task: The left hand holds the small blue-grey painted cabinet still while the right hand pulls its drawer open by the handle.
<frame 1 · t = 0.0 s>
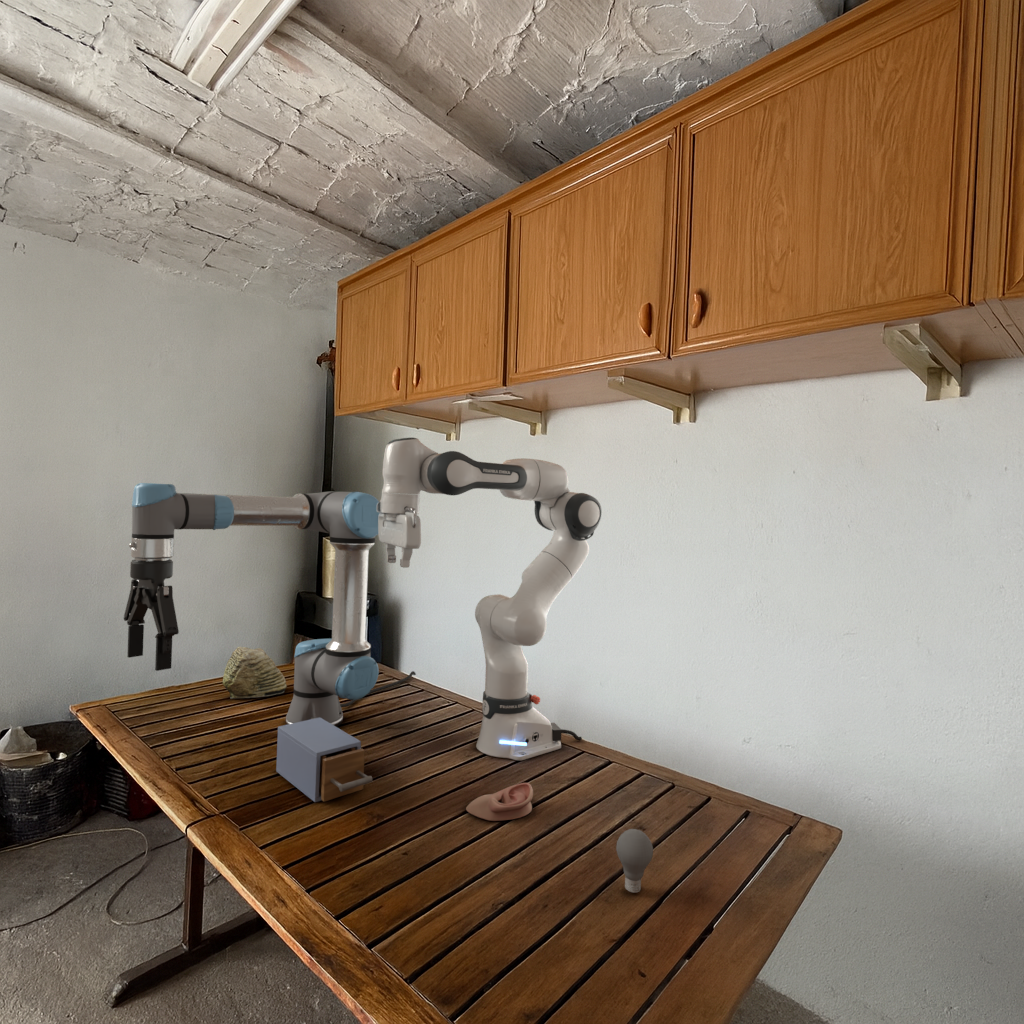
left hand: (148, 662, 129), 28 cm above the table, tool pointing down, fingers open, 13 cm apart
right hand: (397, 565, 149), 48 cm above the table, tool pointing down, fingers open, 8 cm apart
fossil: (254, 694, 198), on the table
anatomical model: (499, 809, 132), on the table
drawer: (330, 765, 137), point 5 cm above the table, slide at 1.4 cm
cabinet: (316, 779, 142), on the table
light bulb: (632, 891, 106), on the table
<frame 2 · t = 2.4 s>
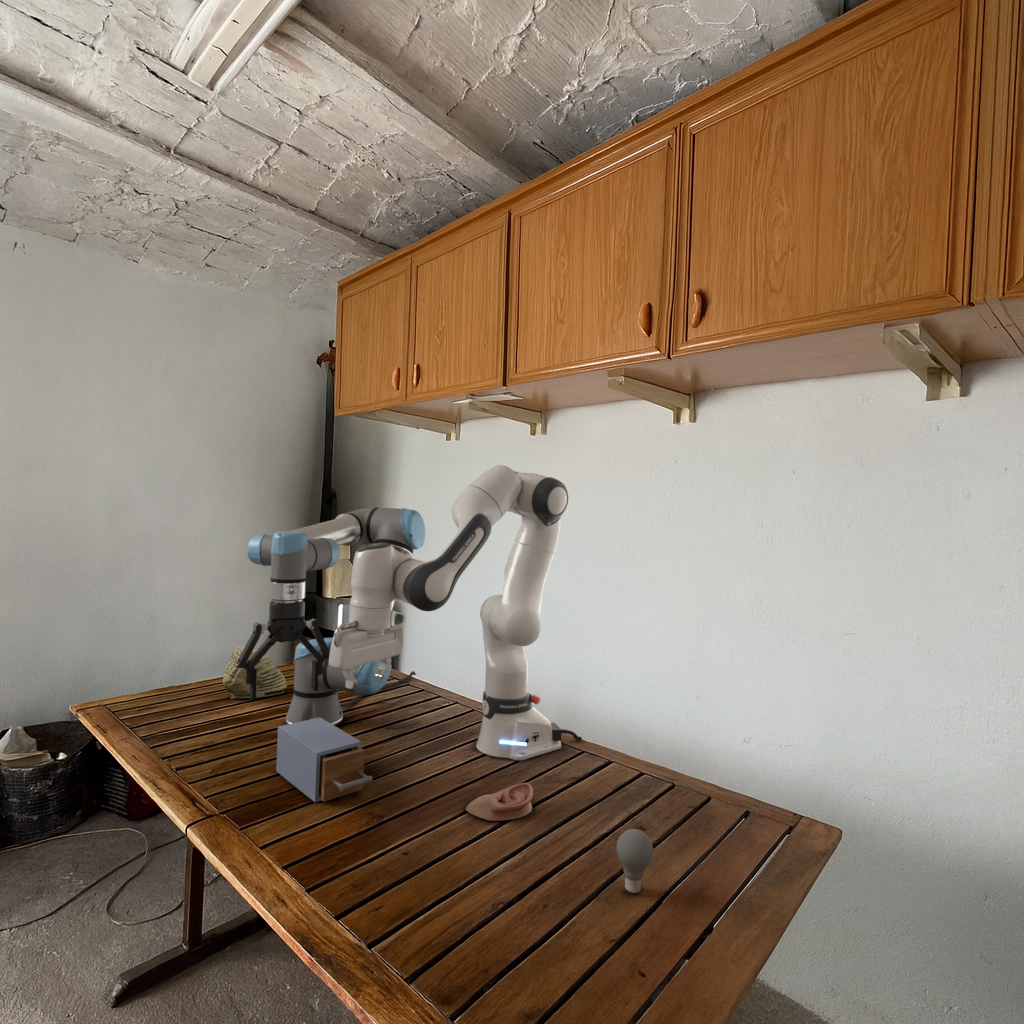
left hand: (284, 693, 143), 18 cm above the table, tool pointing down, fingers open, 13 cm apart
right hand: (366, 682, 136), 24 cm above the table, tool pointing down, fingers open, 8 cm apart
nothing on the table moved.
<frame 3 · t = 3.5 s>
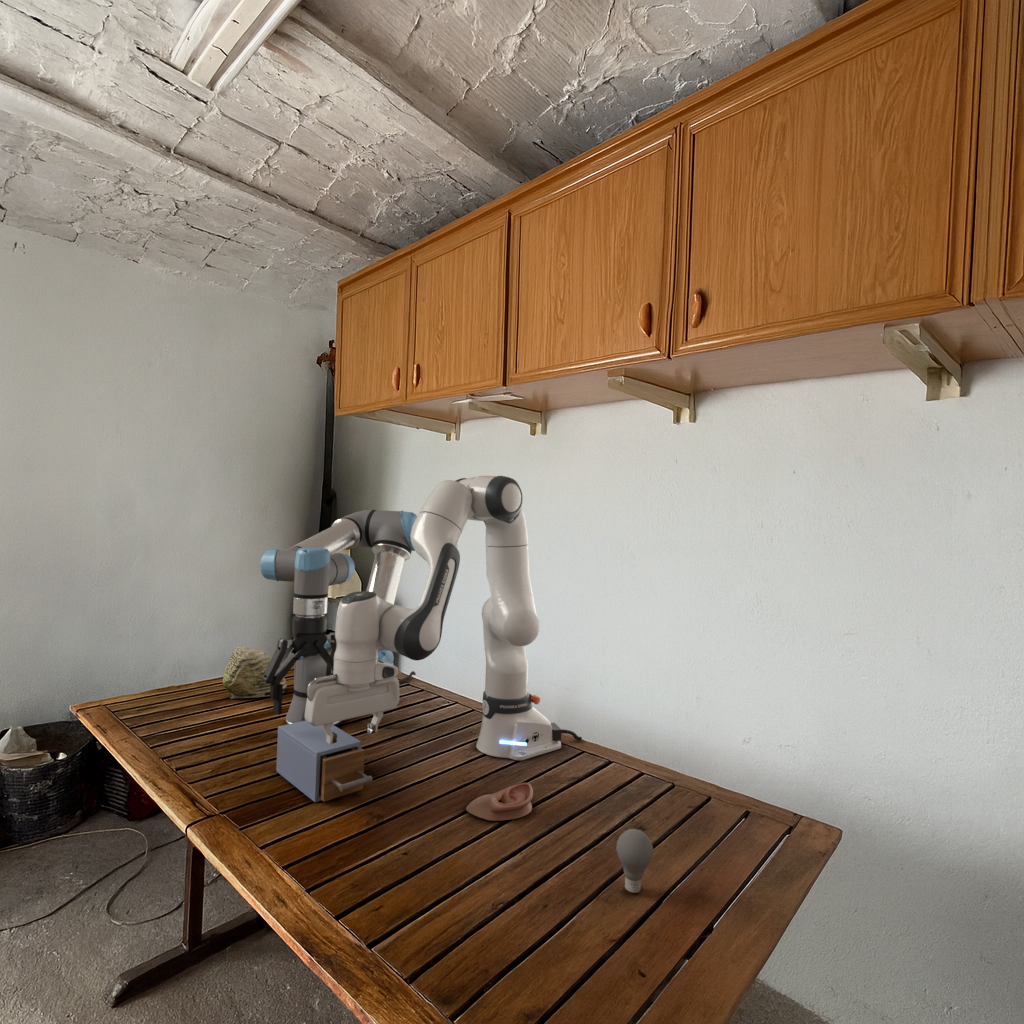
left hand: (306, 707, 146), 15 cm above the table, tool pointing down, fingers open, 13 cm apart
right hand: (352, 737, 131), 14 cm above the table, tool pointing down, fingers open, 8 cm apart
nothing on the table moved.
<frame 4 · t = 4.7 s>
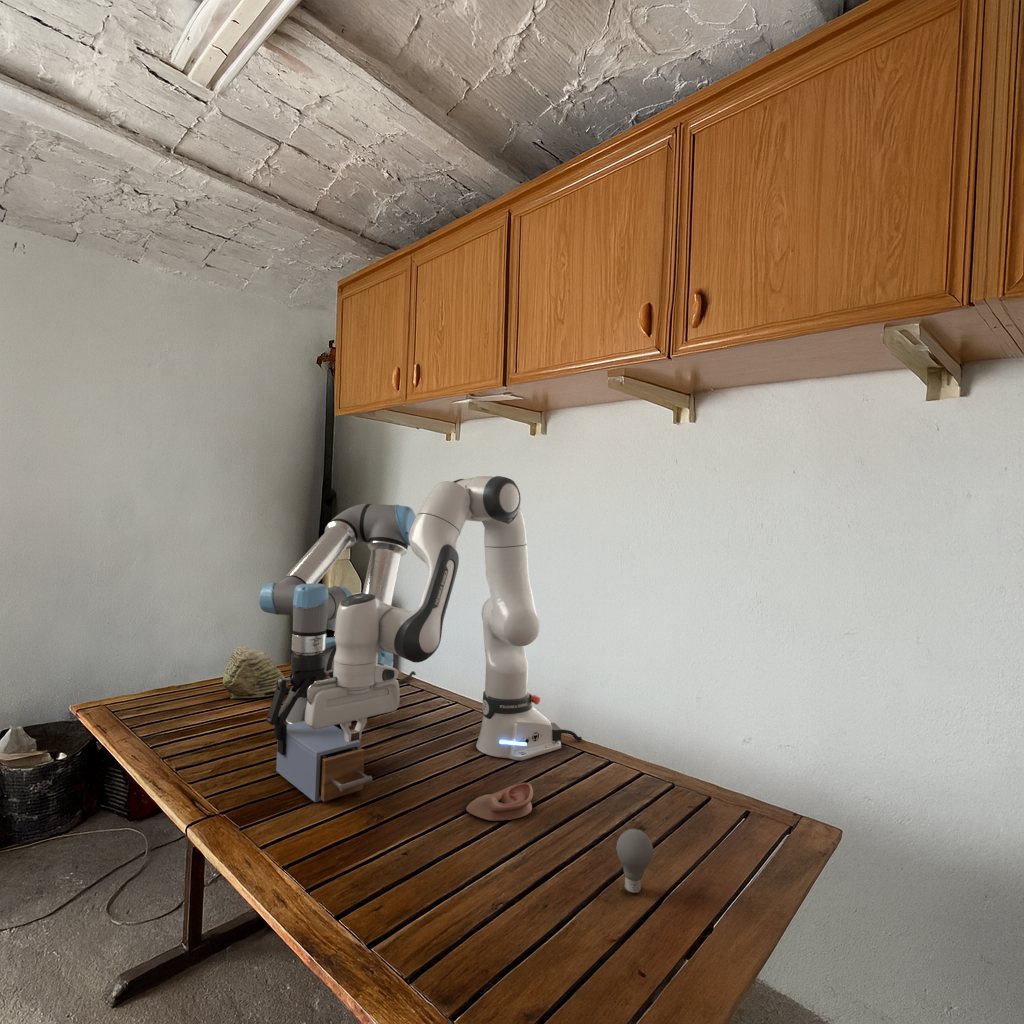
left hand: (304, 747, 146), 5 cm above the table, tool pointing down, fingers closed on cabinet, 10 cm apart
right hand: (352, 740, 131), 13 cm above the table, tool pointing down, fingers closed
cabinet: (316, 779, 142), on the table, touching left hand
everything else where it was.
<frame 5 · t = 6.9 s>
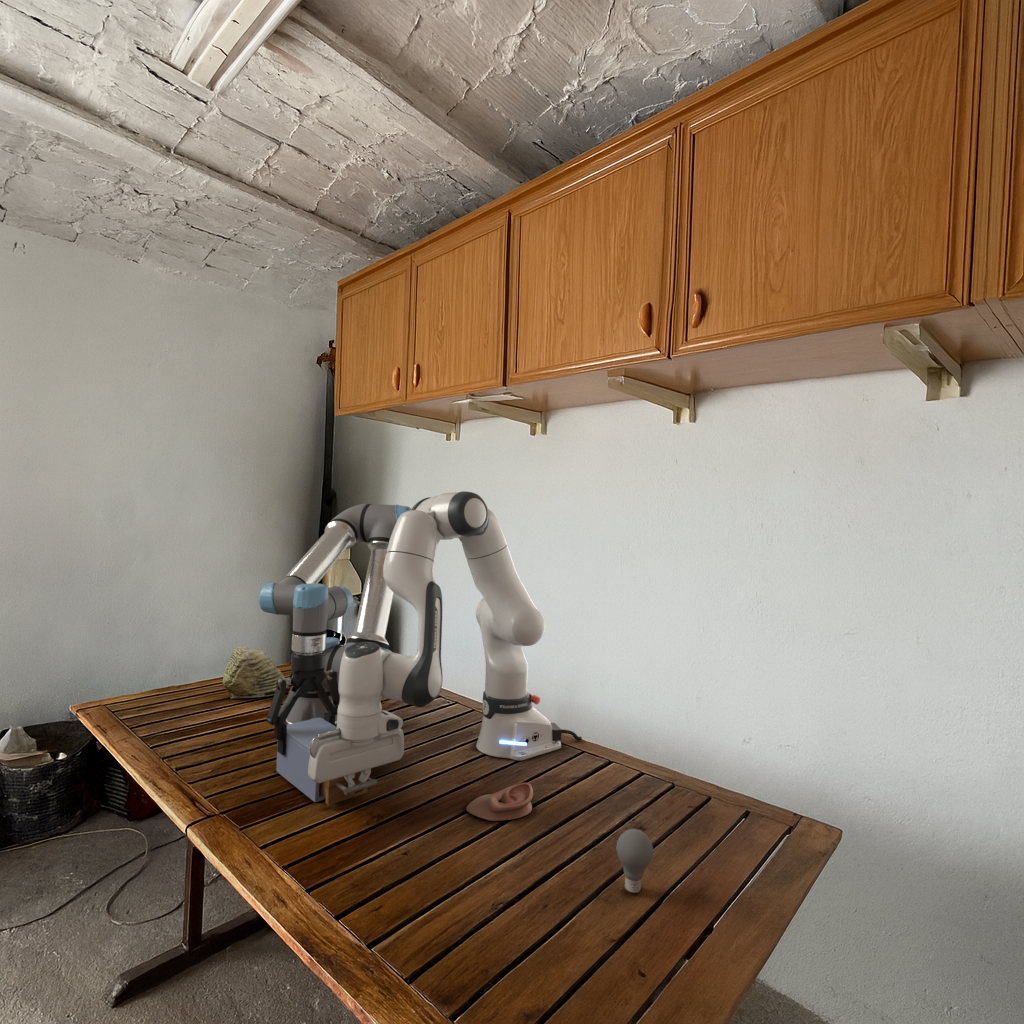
left hand: (304, 747, 146), 5 cm above the table, tool pointing down, fingers closed on cabinet, 10 cm apart
right hand: (356, 791, 129), 4 cm above the table, tool pointing down, fingers closed, pressing on drawer
drawer: (334, 768, 136), point 5 cm above the table, slide at 3.3 cm, touching right hand
cabinet: (316, 779, 142), on the table, touching left hand
everything else where it was.
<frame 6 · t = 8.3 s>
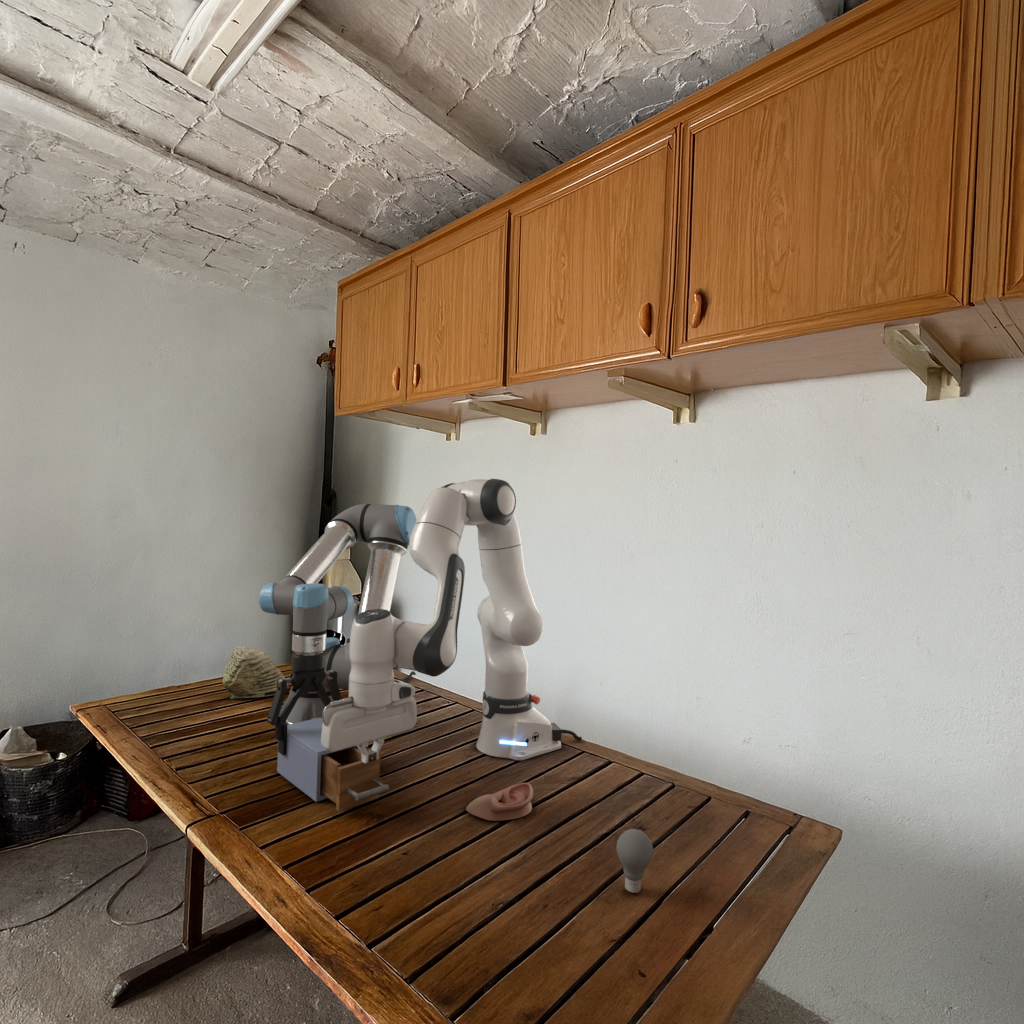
left hand: (305, 747, 146), 5 cm above the table, tool pointing down, fingers closed on cabinet, 10 cm apart
right hand: (370, 760, 127), 11 cm above the table, tool pointing down, fingers closed
drawer: (344, 773, 133), point 5 cm above the table, slide at 7.1 cm
cabinet: (317, 779, 142), on the table, touching left hand
everything else where it was.
when the left hand's fingers open (5 cm above the table, at t = 9.5 s): cabinet stays where it is, on the table.
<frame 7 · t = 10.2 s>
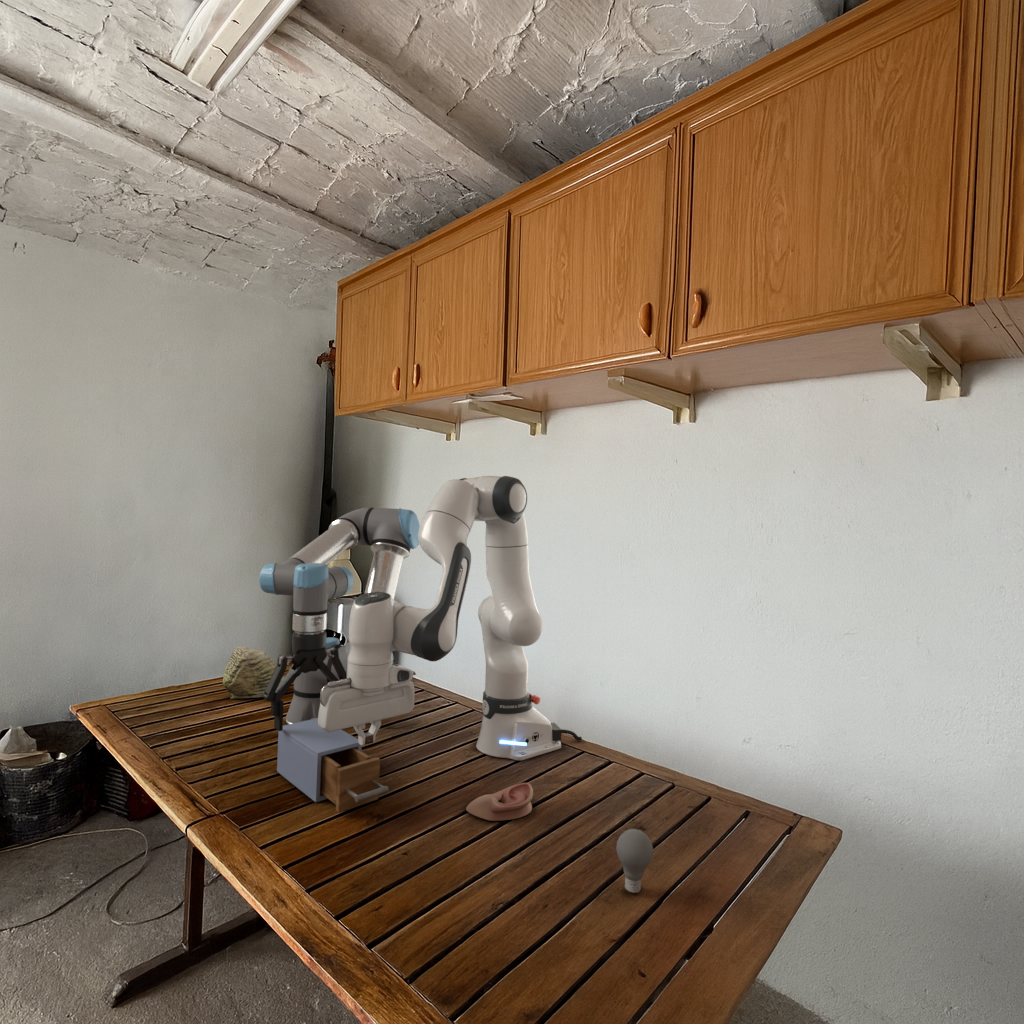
left hand: (307, 722, 146), 11 cm above the table, tool pointing down, fingers open, 13 cm apart
right hand: (366, 743, 127), 14 cm above the table, tool pointing down, fingers closed
cabinet: (317, 779, 142), on the table
everything else where it was.
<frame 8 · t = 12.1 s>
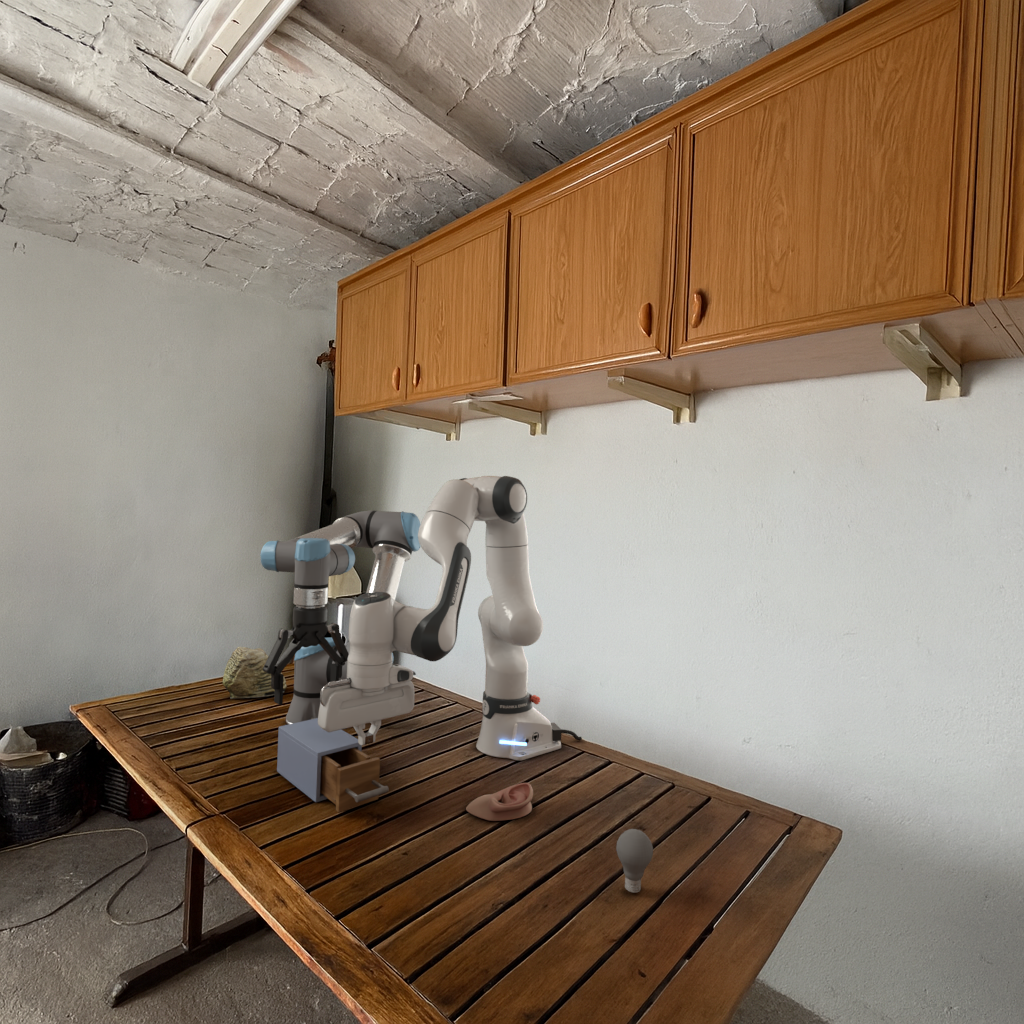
left hand: (307, 697, 146), 17 cm above the table, tool pointing down, fingers open, 13 cm apart
right hand: (366, 743, 127), 14 cm above the table, tool pointing down, fingers closed
nothing on the table moved.
at the end: drawer slide at 7.1 cm; cabinet tilted 0°; cabinet never tilted more than 1° during the clip; cabinet moved 0.2 cm from its start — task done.
